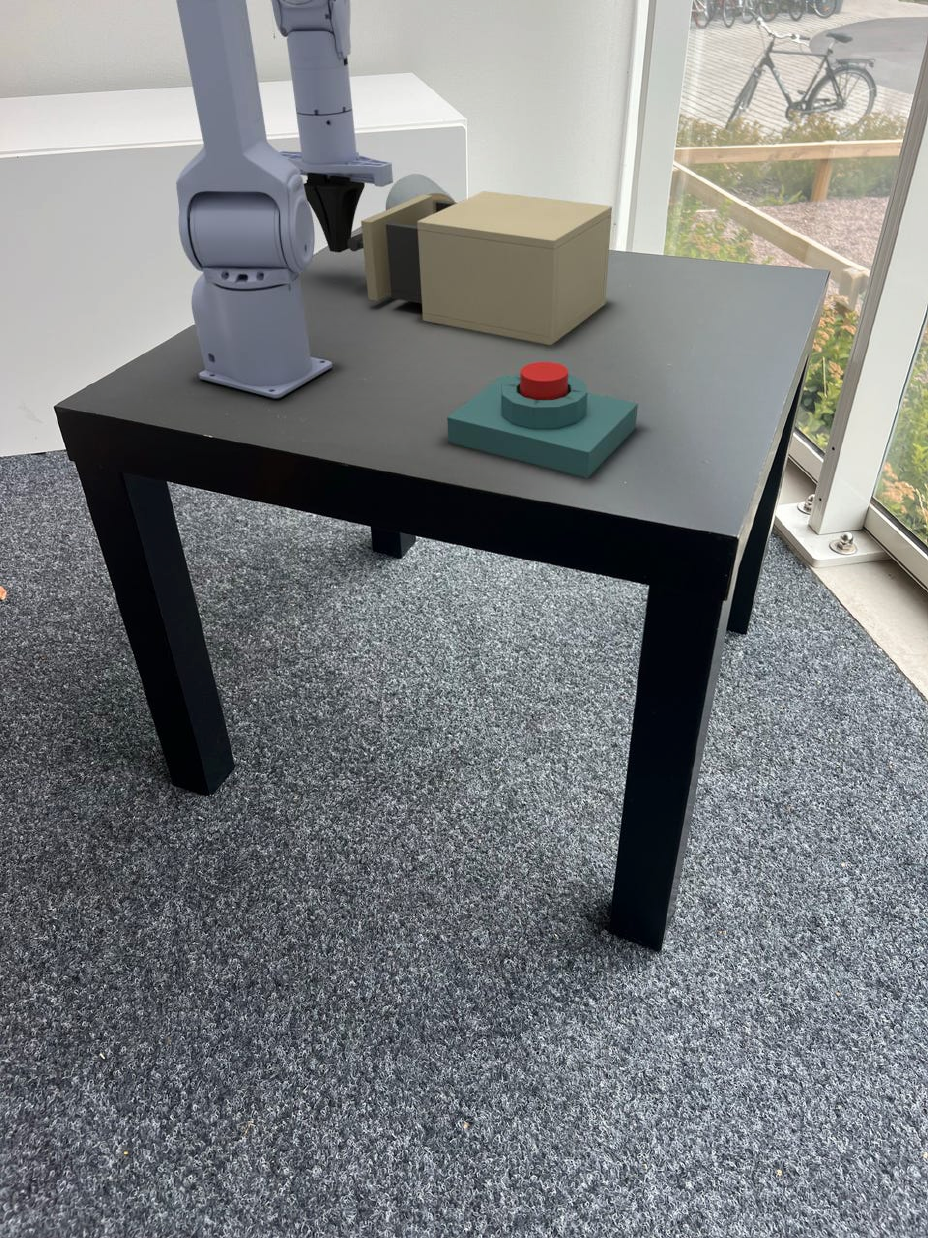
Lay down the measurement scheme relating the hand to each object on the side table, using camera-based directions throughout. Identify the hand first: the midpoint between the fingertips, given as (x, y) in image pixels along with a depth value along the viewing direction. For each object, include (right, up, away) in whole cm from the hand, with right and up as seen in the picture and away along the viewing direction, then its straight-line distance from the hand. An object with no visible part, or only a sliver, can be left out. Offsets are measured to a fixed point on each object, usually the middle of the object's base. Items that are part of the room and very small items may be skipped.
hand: (340, 249), depth 98 cm
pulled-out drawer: (+11, -6, -4) cm, 13 cm away
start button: (+20, -24, -31) cm, 44 cm away
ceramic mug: (+10, +5, +12) cm, 17 cm away
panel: (+20, -27, -29) cm, 44 cm away
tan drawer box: (+19, -9, -7) cm, 22 cm away
